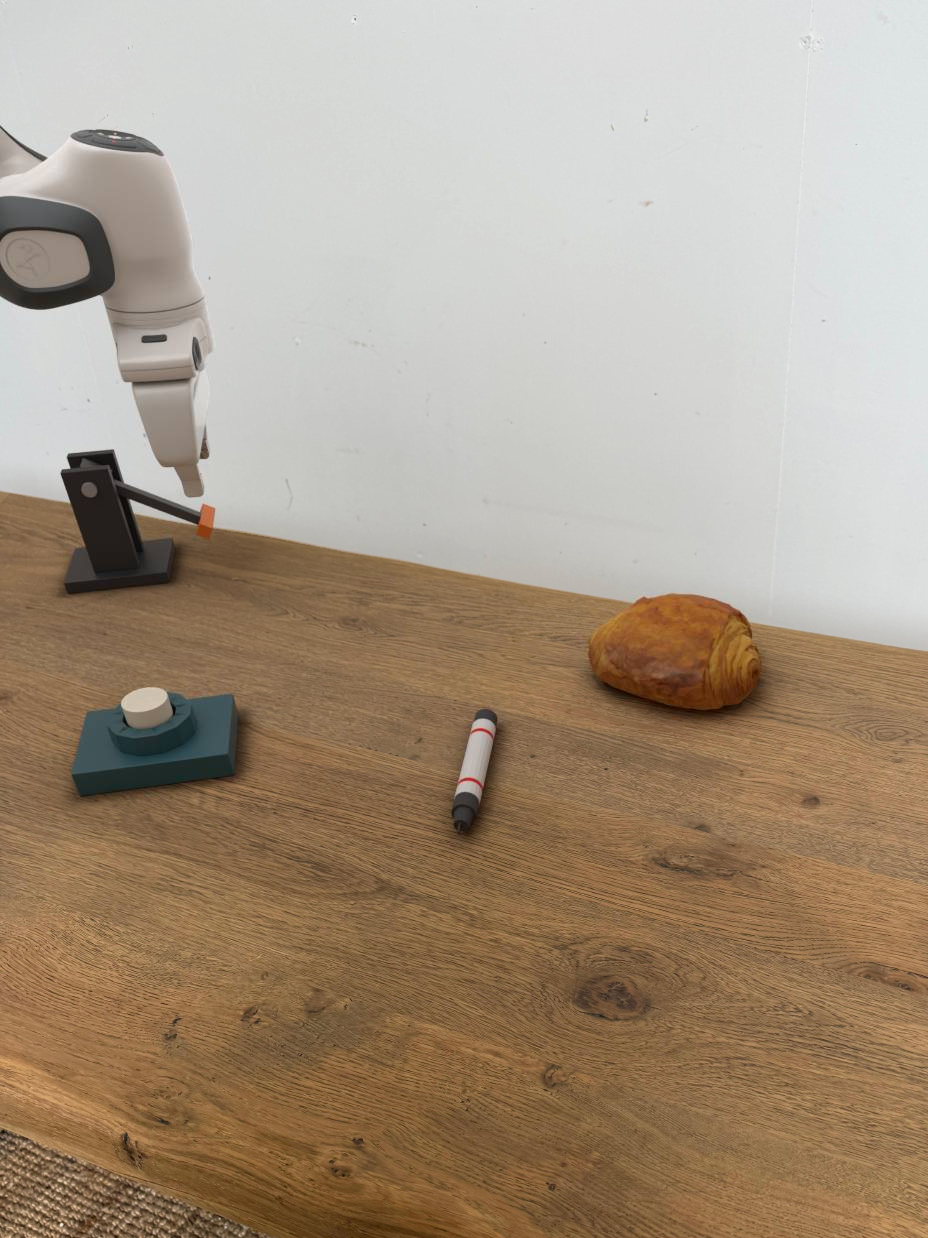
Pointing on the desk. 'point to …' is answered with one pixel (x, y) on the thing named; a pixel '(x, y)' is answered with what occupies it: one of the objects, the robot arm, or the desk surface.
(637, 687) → the croissant
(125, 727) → the block
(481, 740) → the marker
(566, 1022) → the desk surface
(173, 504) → the lever switch
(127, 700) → the power button
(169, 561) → the pivot lever stand
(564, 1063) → the desk surface
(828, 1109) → the desk surface
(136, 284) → the robot arm
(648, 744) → the desk surface
